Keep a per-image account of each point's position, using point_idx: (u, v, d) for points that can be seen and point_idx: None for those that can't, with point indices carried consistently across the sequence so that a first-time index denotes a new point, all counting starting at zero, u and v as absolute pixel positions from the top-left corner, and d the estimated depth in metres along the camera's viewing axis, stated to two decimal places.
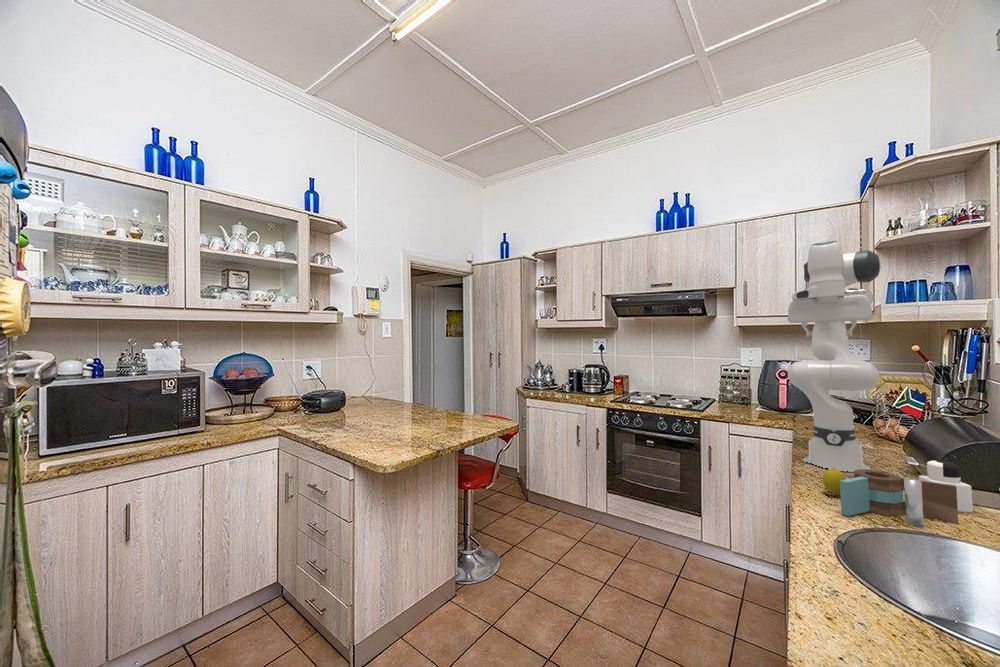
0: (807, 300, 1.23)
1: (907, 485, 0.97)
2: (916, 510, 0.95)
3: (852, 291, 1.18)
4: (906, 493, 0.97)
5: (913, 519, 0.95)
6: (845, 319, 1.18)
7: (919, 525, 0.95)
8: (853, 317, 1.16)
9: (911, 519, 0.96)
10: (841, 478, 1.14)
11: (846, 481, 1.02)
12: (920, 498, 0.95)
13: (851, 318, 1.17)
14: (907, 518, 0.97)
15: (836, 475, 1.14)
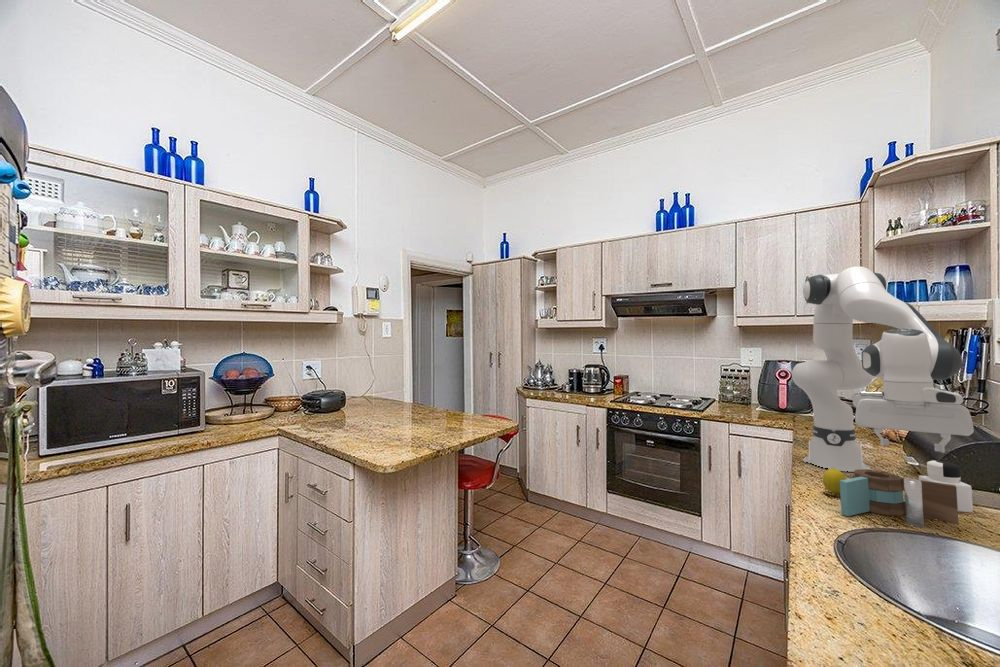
0: None
1: (907, 485, 0.97)
2: (916, 510, 0.95)
3: None
4: (906, 493, 0.97)
5: (913, 519, 0.95)
6: None
7: (919, 525, 0.95)
8: None
9: (911, 519, 0.96)
10: (841, 478, 1.14)
11: (846, 481, 1.02)
12: (920, 498, 0.95)
13: None
14: (907, 518, 0.97)
15: (836, 475, 1.14)
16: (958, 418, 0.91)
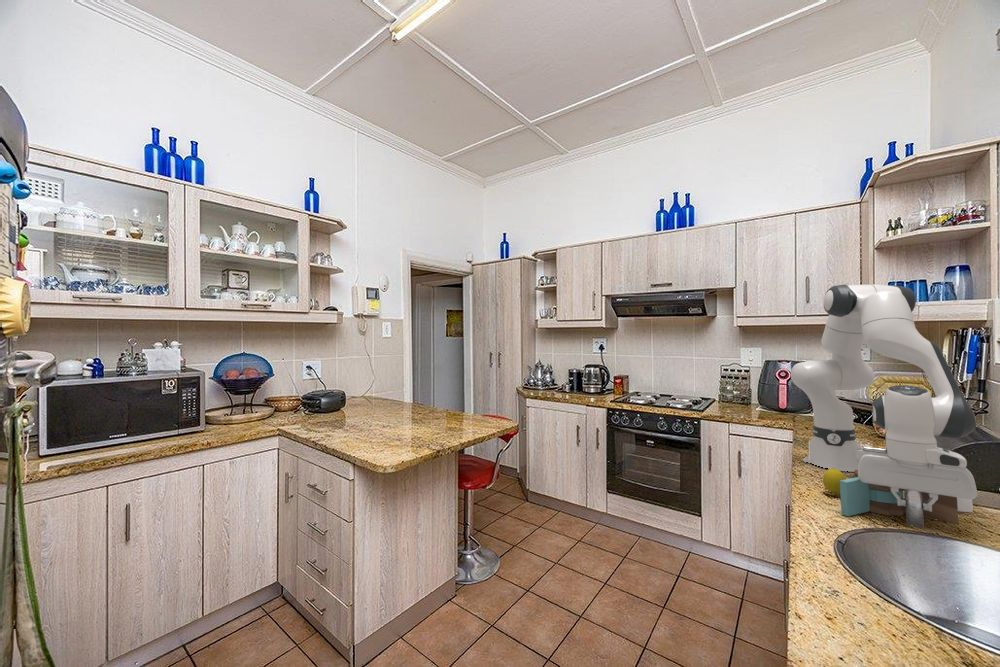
0: None
1: None
2: (916, 510, 0.95)
3: None
4: (906, 493, 0.97)
5: (913, 519, 0.95)
6: None
7: (919, 525, 0.95)
8: None
9: (911, 519, 0.96)
10: (841, 478, 1.14)
11: (846, 481, 1.02)
12: (920, 498, 0.95)
13: None
14: (907, 518, 0.97)
15: (836, 475, 1.14)
16: (962, 481, 0.90)
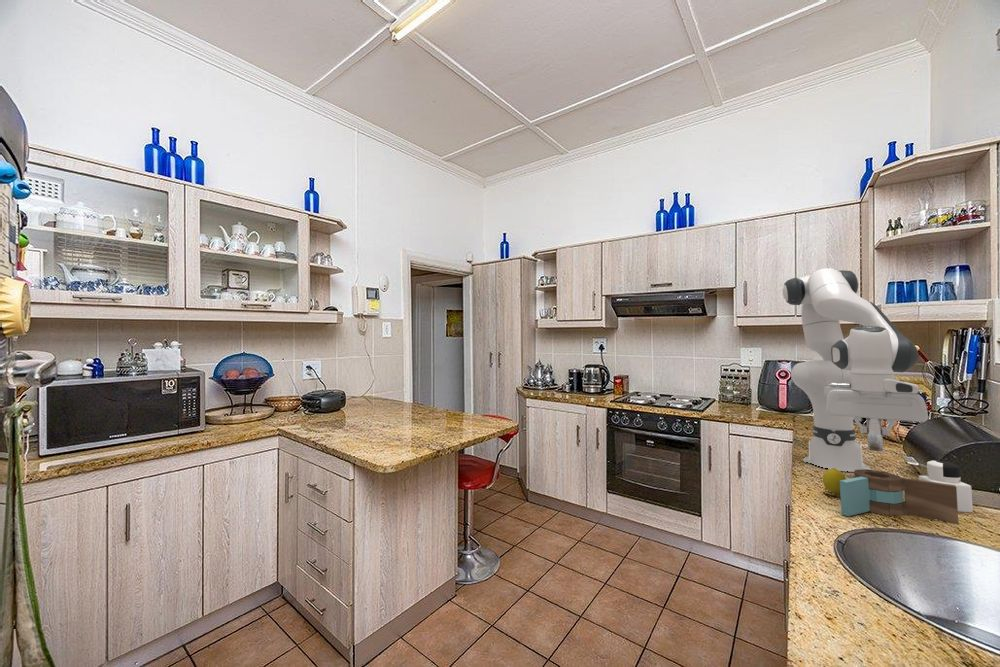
0: None
1: None
2: (876, 436, 1.06)
3: None
4: (867, 421, 1.07)
5: (873, 444, 1.06)
6: None
7: (879, 449, 1.05)
8: None
9: (872, 444, 1.06)
10: (841, 478, 1.14)
11: (846, 481, 1.02)
12: (879, 425, 1.06)
13: None
14: (868, 444, 1.07)
15: (836, 475, 1.14)
16: (915, 406, 1.01)
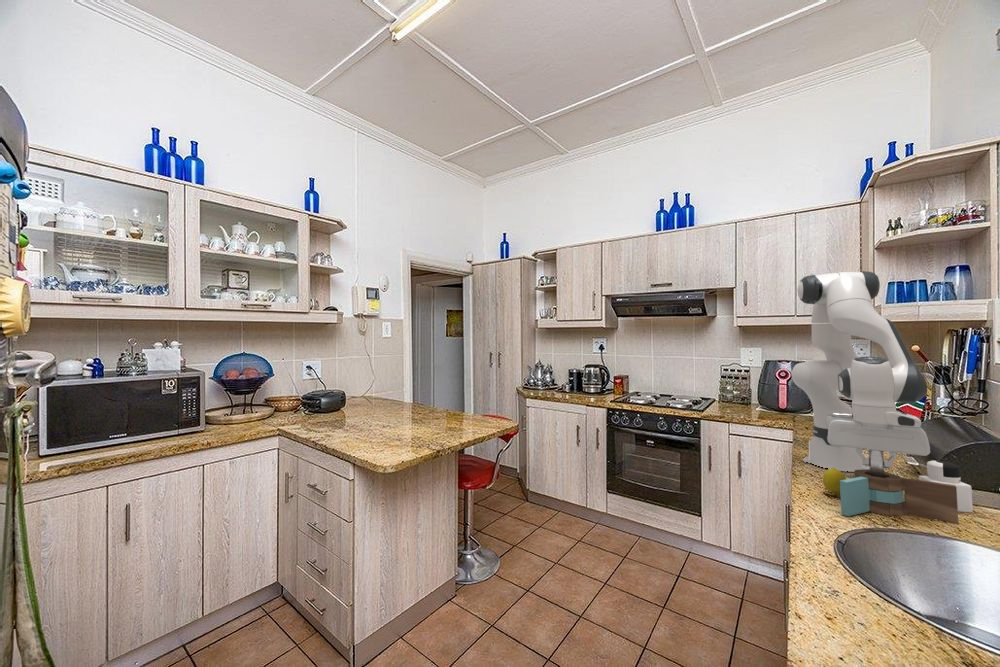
0: None
1: None
2: (878, 468, 1.05)
3: None
4: (869, 453, 1.07)
5: (875, 476, 1.06)
6: None
7: None
8: None
9: (874, 476, 1.06)
10: (841, 478, 1.14)
11: (846, 481, 1.02)
12: (881, 457, 1.05)
13: None
14: (870, 475, 1.07)
15: (836, 475, 1.14)
16: (917, 439, 1.00)
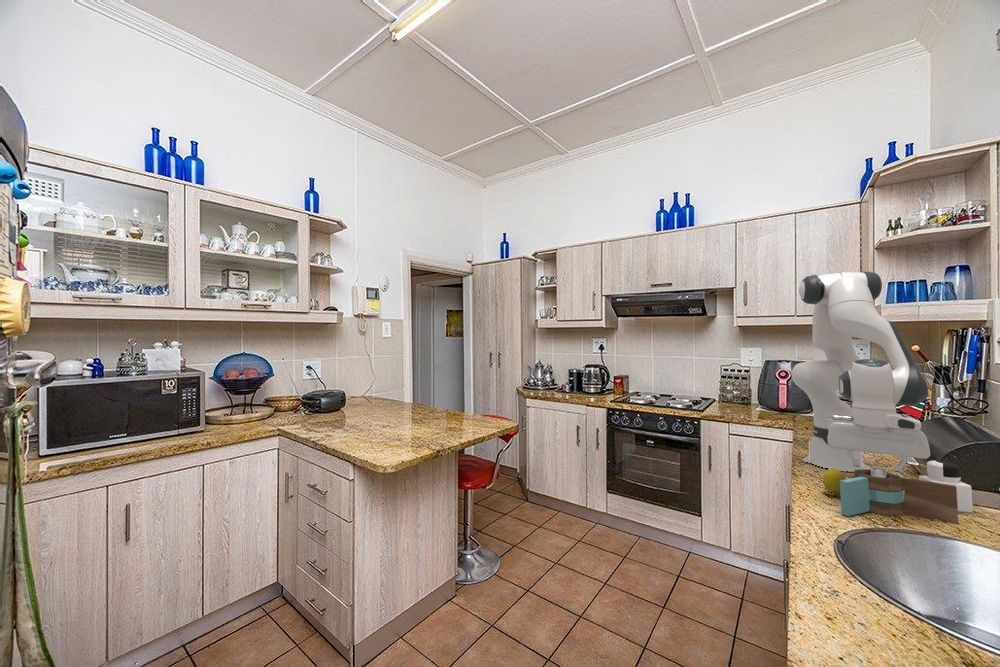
0: None
1: (873, 472, 1.06)
2: None
3: None
4: None
5: None
6: None
7: None
8: None
9: None
10: (841, 478, 1.14)
11: (846, 481, 1.02)
12: None
13: None
14: None
15: (836, 475, 1.14)
16: (917, 442, 1.00)
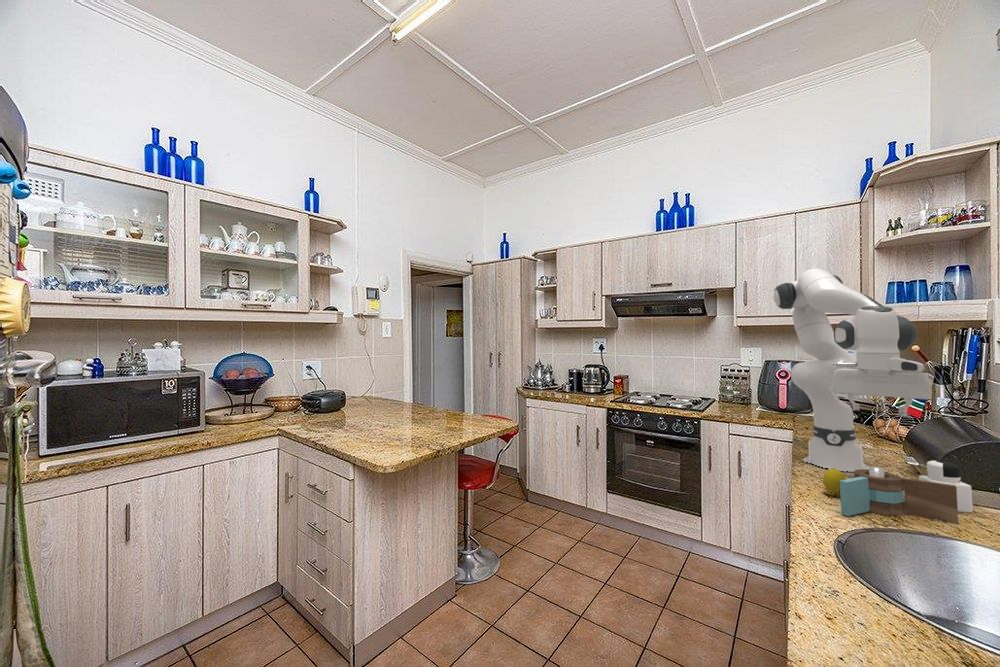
0: None
1: (871, 472, 1.06)
2: None
3: None
4: None
5: None
6: None
7: None
8: None
9: None
10: (841, 478, 1.14)
11: (846, 481, 1.02)
12: None
13: None
14: None
15: (836, 475, 1.14)
16: (919, 384, 1.03)
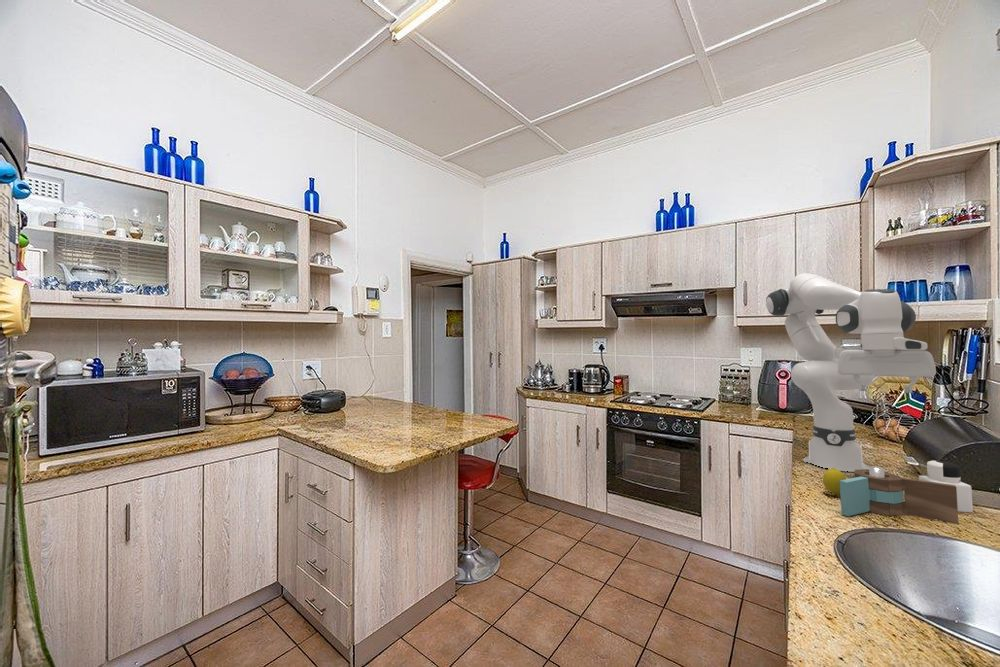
0: None
1: (871, 472, 1.07)
2: None
3: None
4: None
5: None
6: None
7: None
8: None
9: None
10: (841, 478, 1.14)
11: (846, 481, 1.02)
12: None
13: None
14: None
15: (836, 475, 1.14)
16: (923, 362, 1.06)
